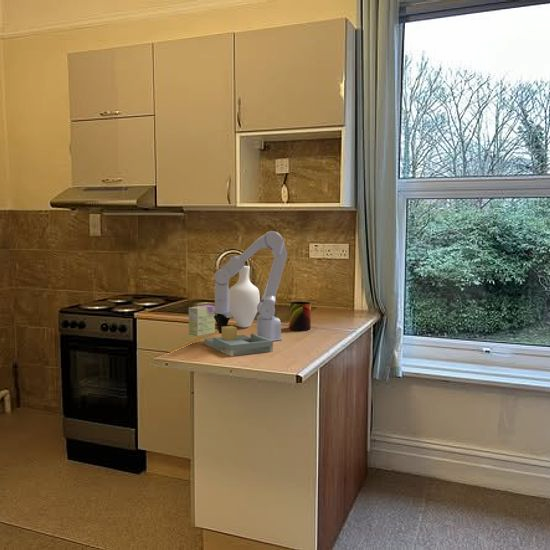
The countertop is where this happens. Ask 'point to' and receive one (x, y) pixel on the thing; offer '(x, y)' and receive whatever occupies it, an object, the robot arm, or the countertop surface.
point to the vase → (243, 299)
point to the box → (201, 320)
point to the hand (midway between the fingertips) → (222, 333)
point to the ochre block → (229, 333)
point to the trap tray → (241, 345)
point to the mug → (299, 316)
